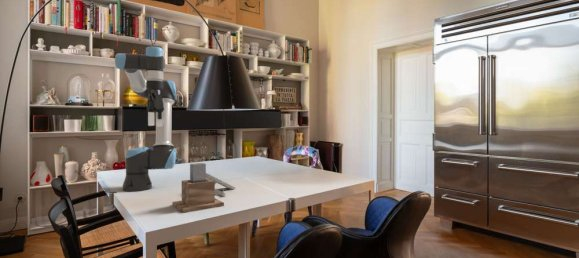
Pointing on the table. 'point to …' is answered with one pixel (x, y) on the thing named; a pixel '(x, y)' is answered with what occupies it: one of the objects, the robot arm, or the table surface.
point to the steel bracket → (197, 172)
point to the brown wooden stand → (197, 196)
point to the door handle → (220, 184)
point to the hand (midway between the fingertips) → (155, 126)
